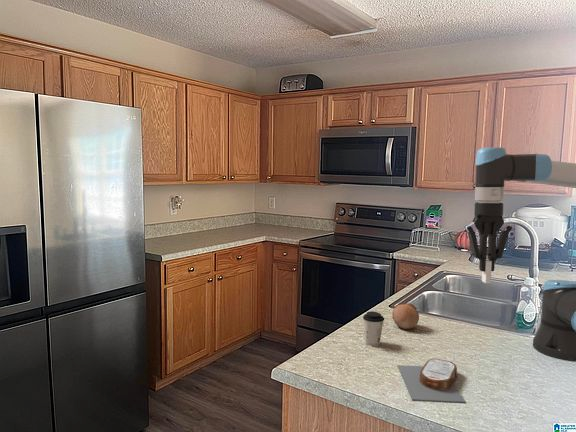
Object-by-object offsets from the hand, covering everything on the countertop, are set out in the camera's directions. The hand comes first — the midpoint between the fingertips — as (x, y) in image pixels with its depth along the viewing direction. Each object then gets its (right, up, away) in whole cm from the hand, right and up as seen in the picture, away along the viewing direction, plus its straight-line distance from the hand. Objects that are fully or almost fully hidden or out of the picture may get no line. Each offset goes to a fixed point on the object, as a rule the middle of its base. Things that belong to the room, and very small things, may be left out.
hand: (486, 281), depth 126 cm
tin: (-13, -24, -10) cm, 29 cm away
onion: (-15, -22, +32) cm, 41 cm away
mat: (-20, -26, -10) cm, 34 cm away
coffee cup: (-30, -23, +17) cm, 41 cm away
